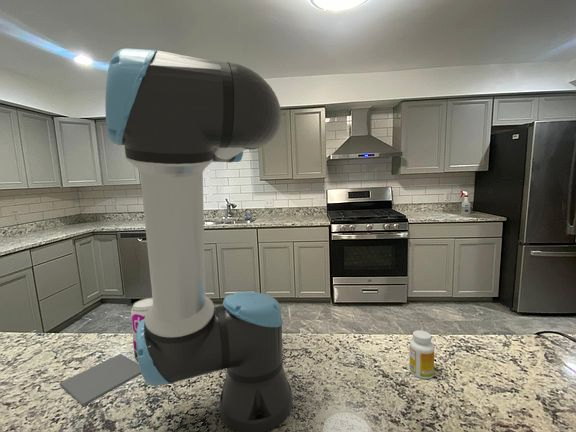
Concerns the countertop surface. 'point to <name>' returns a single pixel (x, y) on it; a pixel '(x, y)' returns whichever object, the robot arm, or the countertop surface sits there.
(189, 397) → the countertop surface
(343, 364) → the countertop surface
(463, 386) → the countertop surface
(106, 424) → the countertop surface
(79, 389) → the mat
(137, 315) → the supplement can
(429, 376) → the supplement bottle
